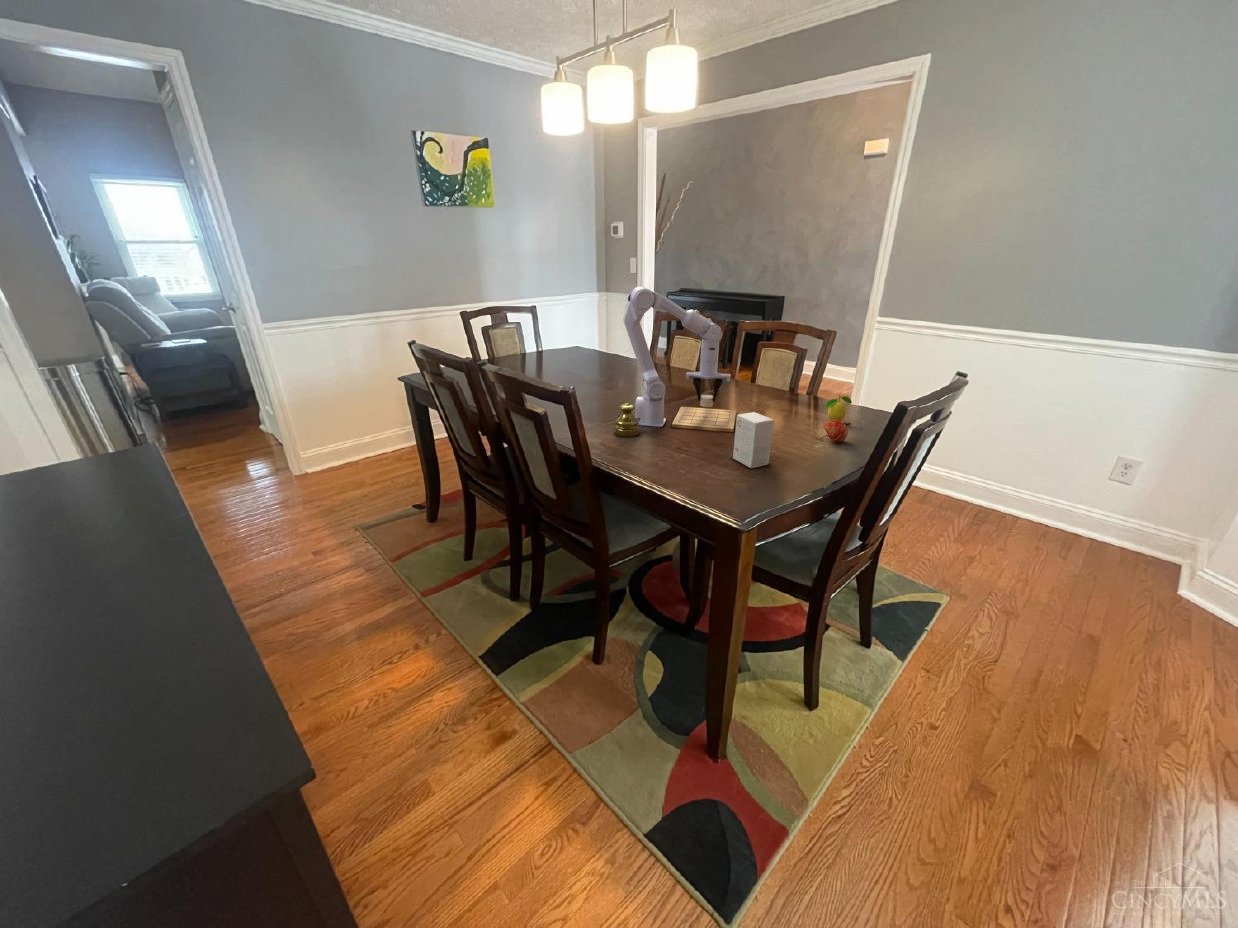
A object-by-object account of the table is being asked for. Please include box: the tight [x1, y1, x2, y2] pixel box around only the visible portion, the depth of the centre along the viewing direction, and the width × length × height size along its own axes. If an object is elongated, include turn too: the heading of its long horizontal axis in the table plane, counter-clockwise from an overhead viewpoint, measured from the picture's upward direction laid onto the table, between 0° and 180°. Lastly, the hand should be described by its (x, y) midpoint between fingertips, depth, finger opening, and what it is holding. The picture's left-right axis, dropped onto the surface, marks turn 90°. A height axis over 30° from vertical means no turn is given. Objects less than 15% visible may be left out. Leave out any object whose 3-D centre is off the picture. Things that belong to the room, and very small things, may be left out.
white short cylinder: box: [699, 394, 714, 408], centre depth 167 cm, size 4×4×3 cm
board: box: [671, 406, 737, 433], centre depth 169 cm, size 20×20×1 cm
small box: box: [732, 411, 775, 469], centre depth 134 cm, size 8×6×13 cm
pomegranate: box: [819, 419, 852, 444], centre depth 149 cm, size 7×7×10 cm
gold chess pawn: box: [615, 402, 640, 438], centre depth 156 cm, size 7×7×10 cm
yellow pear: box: [824, 394, 853, 421], centre depth 164 cm, size 7×6×10 cm
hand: (706, 400), depth 167 cm, fingers closed on white short cylinder, 4 cm apart
